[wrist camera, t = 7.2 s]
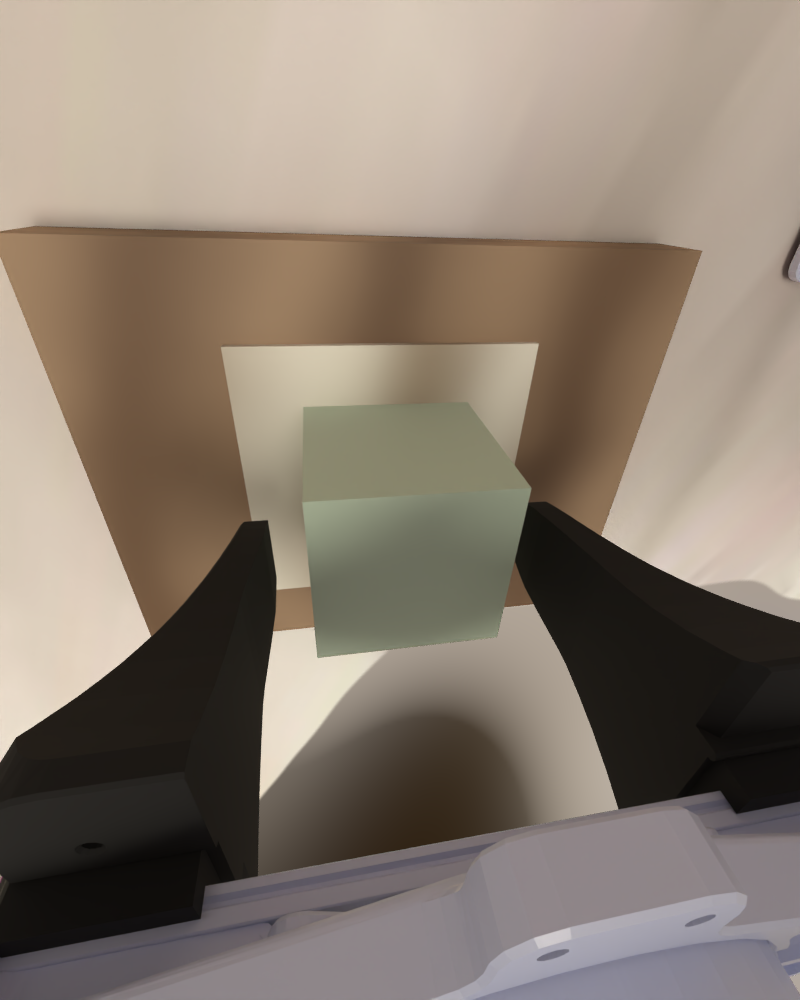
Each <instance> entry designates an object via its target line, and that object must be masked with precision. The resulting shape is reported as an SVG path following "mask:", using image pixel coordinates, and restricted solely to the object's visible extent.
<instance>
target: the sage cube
mask: <svg viewBox="0 0 800 1000" xmlns="http://www.w3.org/2000/svg"><path fill="white" fill-rule="evenodd" d="M531 489H532V488H531V487H530V485H529V484H528V483H527V481H526V480H525V479H524V477H523V476H522V474H521V473H520V472H519V470H518V469H517V468H516V466H515V465H514V464H513V462H512V461H511V460H510V458H509V457H508V456H507V454H506V453H505V452H504V450H503V449H502V448H501V446H500V445H499V444H498V442H497V441H496V440H495V438H494V437H493V436H492V434H491V433H490V432H489V430H488V429H487V428H486V426H485V425H484V424H483V422H482V421H481V420H480V418H479V417H478V416H477V414H476V413H475V412H474V410H473V409H472V408H471V406H470V405H469V404H468V402H454V403H420V404H386V405H352V406H319V407H303V490H302V504H303V514H304V524H305V534H306V545H307V555H308V565H309V575H310V585H311V596H312V606H313V616H314V626H315V637H316V647H317V657H318V658H321V657H330V656H338V655H347V654H356V653H364V652H373V651H382V650H391V649H398V648H407V647H417V646H425V645H434V644H442V643H451V642H460V641H469V640H477V639H486V638H494V637H497V634H498V630H499V626H500V622H501V617H502V613H503V609H504V605H505V600H506V596H507V592H508V587H509V583H510V579H511V574H512V570H513V566H514V562H515V557H516V553H517V549H518V544H519V540H520V536H521V532H522V527H523V523H524V519H525V514H526V510H527V506H528V501H529V497H530V493H531Z"/></svg>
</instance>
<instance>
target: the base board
mask: <svg viewBox="0 0 800 1000" xmlns="http://www.w3.org/2000/svg"><path fill="white" fill-rule="evenodd" d="M701 253H702V251H699V250H693V249H687V248H681V247H675V246H669V245H663V244H648V243H612V242H577V241H541V240H505V239H469V238H433V237H397V236H362V235H326V234H290V233H254V232H218V231H182V230H146V229H111V228H75V227H39V226H33V227H26V228H20V229H13V230H6V231H0V257H1V260H2V262H3V265H4V267H5V270H6V272H7V275H8V277H9V280H10V282H11V285H12V287H13V290H14V292H15V295H16V297H17V300H18V302H19V305H20V307H21V310H22V312H23V315H24V317H25V320H26V322H27V325H28V327H29V330H30V332H31V335H32V338H33V340H34V343H35V345H36V348H37V350H38V353H39V355H40V358H41V360H42V363H43V365H44V368H45V370H46V373H47V375H48V378H49V380H50V383H51V385H52V388H53V390H54V393H55V395H56V398H57V400H58V403H59V405H60V408H61V410H62V413H63V415H64V418H65V420H66V423H67V425H68V428H69V431H70V433H71V436H72V438H73V441H74V443H75V446H76V448H77V451H78V453H79V456H80V458H81V461H82V463H83V466H84V468H85V471H86V473H87V476H88V478H89V481H90V483H91V486H92V488H93V491H94V493H95V496H96V498H97V501H98V503H99V506H100V508H101V511H102V513H103V516H104V519H105V521H106V524H107V526H108V529H109V531H110V534H111V536H112V539H113V541H114V544H115V546H116V549H117V551H118V554H119V556H120V559H121V561H122V564H123V566H124V569H125V571H126V574H127V576H128V579H129V581H130V584H131V586H132V589H133V591H134V594H135V596H136V599H137V601H138V604H139V606H140V609H141V612H142V614H143V617H144V619H145V622H146V624H147V627H148V629H149V632H150V634H151V636H152V635H154V634H155V633H156V632H157V631H158V630H159V629H160V628H161V627H162V626H163V625H164V624H165V623H166V622H167V621H168V620H169V619H170V618H171V616H172V615H173V614H174V613H175V612H176V611H177V610H178V609H179V608H180V607H181V606H182V604H183V603H184V602H185V601H186V600H187V599H188V597H189V596H190V595H191V594H192V593H193V591H194V590H195V589H196V588H197V587H198V585H199V584H200V583H201V582H202V580H203V579H204V578H205V577H206V575H207V574H208V573H209V571H210V570H211V569H212V567H213V566H214V564H215V563H216V562H217V560H218V559H219V558H220V556H221V555H222V553H223V552H224V550H225V549H226V547H227V546H228V544H229V543H230V541H231V540H232V538H233V536H234V535H235V533H236V532H237V530H238V528H239V527H240V525H241V524H242V523H243V522H247V521H262V520H268V524H269V530H270V537H271V543H272V550H273V557H274V563H275V570H276V576H277V590H276V614H275V621H274V628H273V631H282V630H291V629H301V628H310V627H315V626H314V616H313V606H312V596H311V585H310V575H309V565H308V555H307V545H306V534H305V524H304V514H303V504H302V490H303V407H319V406H352V405H386V404H420V403H454V402H468V404H469V405H470V406H471V408H472V409H473V410H474V412H475V413H476V414H477V416H478V417H479V418H480V420H481V421H482V422H483V424H484V425H485V426H486V428H487V429H488V430H489V432H490V433H491V434H492V436H493V437H494V438H495V440H496V441H497V442H498V444H499V445H500V446H501V448H502V449H503V450H504V452H505V453H506V454H507V456H508V457H509V458H510V460H511V461H512V462H513V464H514V465H515V466H516V468H517V469H518V470H519V472H520V473H521V474H522V476H523V477H524V479H525V480H526V481H527V483H528V484H529V485H530V487H531V488H532V489H531V493H530V497H529V501H528V502H543V501H546V502H548V503H550V504H552V505H553V506H555V507H557V508H558V509H560V510H561V511H563V512H565V513H566V514H568V515H569V516H571V517H572V518H574V519H575V520H577V521H579V522H580V523H582V524H583V525H585V526H586V527H588V528H589V529H591V530H592V531H594V532H596V533H597V534H599V535H600V536H601V534H602V531H603V528H604V526H605V523H606V520H607V517H608V514H609V511H610V509H611V506H612V503H613V500H614V497H615V495H616V492H617V489H618V486H619V483H620V481H621V478H622V475H623V472H624V469H625V467H626V464H627V461H628V458H629V455H630V452H631V450H632V447H633V444H634V441H635V438H636V436H637V433H638V430H639V427H640V424H641V422H642V419H643V416H644V413H645V410H646V407H647V405H648V402H649V399H650V396H651V393H652V391H653V388H654V385H655V382H656V379H657V377H658V374H659V371H660V368H661V365H662V362H663V360H664V357H665V354H666V351H667V348H668V346H669V343H670V340H671V337H672V334H673V332H674V329H675V326H676V323H677V320H678V317H679V315H680V312H681V309H682V306H683V303H684V301H685V298H686V295H687V292H688V289H689V287H690V284H691V281H692V278H693V275H694V272H695V270H696V267H697V264H698V261H699V258H700V256H701ZM530 604H533V602H532V600H531V598H530V596H529V595H528V593H527V591H526V589H525V587H524V584H523V582H522V579H521V577H520V574H519V571H518V569H517V566H516V563H515V562H514V566H513V570H512V574H511V579H510V583H509V587H508V592H507V596H506V600H505V605H504V607H511V606H520V605H530Z"/></svg>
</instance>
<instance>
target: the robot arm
mask: <svg viewBox="0 0 800 1000" xmlns="http://www.w3.org/2000/svg"><path fill="white" fill-rule="evenodd" d="M788 276H789V278H790V279H791V280H792V281H796V282H800V244H799V247H798V249H797V251H796V253H795V255H794V257H793V260H792V262H791V264H790V267H789V270H788ZM515 563H516V566H517V569H518V571H519V574H520V577H521V579H522V582H523V584H524V587H525V589H526V591H527V593H528V595H529V596H530V598H531V600H532V602H533V604H534V606H535V608H536V609H537V611H538V613H539V615H540V617H541V619H542V620H543V622H544V624H545V626H546V628H547V629H548V631H549V633H550V635H551V637H552V639H553V640H554V642H555V644H556V646H557V648H558V649H559V651H560V653H561V655H562V657H563V659H564V661H565V663H566V665H567V668H568V670H569V672H570V675H571V677H572V680H573V682H574V685H575V687H576V689H577V692H578V694H579V697H580V699H581V702H582V704H583V707H584V710H585V712H586V715H587V717H588V720H589V722H590V725H591V728H592V730H593V733H594V736H595V739H596V742H597V745H598V748H599V750H600V753H601V756H602V759H603V762H604V765H605V768H606V770H607V774H608V777H609V780H610V783H611V787H612V790H613V793H614V796H615V799H616V802H617V806H618V810H613V811H608V812H603V813H597V814H592V815H587V816H581V817H575V818H570V819H565V820H559V821H554V822H549V823H543V824H538V825H532V826H527V827H522V828H516V829H511V830H505V831H500V832H494V833H489V834H484V835H479V836H473V837H468V838H462V839H457V840H451V841H447V842H441V843H435V844H430V845H424V846H419V847H414V848H408V849H403V850H397V851H392V852H387V853H381V854H376V855H370V856H365V857H360V858H354V859H349V860H343V861H338V862H333V863H327V864H322V865H317V866H311V867H306V868H301V869H295V870H290V871H285V872H279V873H274V874H268V875H263V876H258V828H259V791H260V761H261V736H262V715H263V699H264V690H265V682H266V676H267V669H268V662H269V655H270V649H271V642H272V635H273V628H274V621H275V614H276V590H277V576H276V570H275V563H274V557H273V550H272V543H271V537H270V530H269V524H268V520H262V521H247V522H243V523H242V524H241V525H240V527H239V528H238V530H237V532H236V533H235V535H234V536H233V538H232V540H231V541H230V543H229V544H228V546H227V547H226V549H225V550H224V552H223V553H222V555H221V556H220V558H219V559H218V560H217V562H216V563H215V564H214V566H213V567H212V569H211V570H210V571H209V573H208V574H207V575H206V577H205V578H204V579H203V580H202V582H201V583H200V584H199V585H198V587H197V588H196V589H195V590H194V591H193V593H192V594H191V595H190V596H189V597H188V599H187V600H186V601H185V602H184V603H183V604H182V606H181V607H180V608H179V609H178V610H177V611H176V612H175V613H174V614H173V615H172V616H171V618H170V619H169V620H168V621H167V622H166V623H165V624H164V625H163V626H162V627H161V628H160V629H159V630H158V631H157V632H156V633H155V634H154V635H152V636H151V637H150V638H149V639H148V640H147V641H146V642H145V643H144V644H143V645H142V646H141V647H139V648H138V649H137V650H136V651H135V652H134V653H133V654H131V655H130V656H129V657H128V658H127V659H126V660H125V661H123V662H122V663H121V664H120V665H119V666H117V667H116V668H115V669H114V670H112V671H111V672H110V673H108V674H107V675H106V676H105V677H103V678H102V679H101V680H99V681H98V682H97V683H95V684H94V685H93V686H91V687H90V688H89V689H87V690H86V691H85V692H83V693H82V694H81V695H79V696H78V697H76V698H75V699H74V700H72V701H71V702H69V703H68V704H66V705H65V706H63V707H62V708H60V709H59V710H57V711H56V712H54V713H53V714H51V715H50V716H48V717H47V718H46V719H44V720H43V721H41V722H40V723H38V724H37V725H35V726H34V727H32V728H31V729H29V730H27V731H26V732H24V733H23V734H21V735H20V736H18V737H16V739H15V740H14V742H13V743H12V745H11V747H10V748H9V750H8V751H7V753H6V754H5V756H4V758H3V759H2V761H1V762H0V875H1V876H2V877H3V878H4V879H6V880H7V881H8V882H9V885H8V888H7V890H6V892H5V895H4V897H3V899H2V902H1V904H0V1000H800V994H799V992H798V991H797V989H796V987H795V986H794V984H793V982H792V980H791V979H790V976H794V975H797V974H800V623H799V622H796V621H792V620H789V619H785V618H782V617H778V616H775V615H772V614H769V613H766V612H763V611H760V610H757V609H754V608H751V607H748V606H745V605H742V604H739V603H737V602H734V601H731V600H729V599H726V598H723V597H721V596H718V595H716V594H713V593H711V592H708V591H706V590H704V589H701V588H699V587H696V586H694V585H692V584H689V583H687V582H685V581H683V580H680V579H678V578H676V577H674V576H672V575H670V574H668V573H666V572H664V571H662V570H660V569H658V568H656V567H654V566H652V565H650V564H648V563H646V562H644V561H643V560H641V559H639V558H637V557H635V556H634V555H632V554H630V553H628V552H627V551H625V550H623V549H621V548H620V547H618V546H617V545H615V544H613V543H612V542H610V541H608V540H607V539H605V538H603V537H602V536H600V535H599V534H597V533H596V532H594V531H592V530H591V529H589V528H588V527H586V526H585V525H583V524H582V523H580V522H579V521H577V520H575V519H574V518H572V517H571V516H569V515H568V514H566V513H565V512H563V511H561V510H560V509H558V508H557V507H555V506H553V505H552V504H550V503H548V502H546V501H543V502H528V506H527V510H526V514H525V519H524V523H523V527H522V532H521V536H520V540H519V544H518V549H517V553H516V557H515Z"/></svg>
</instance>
